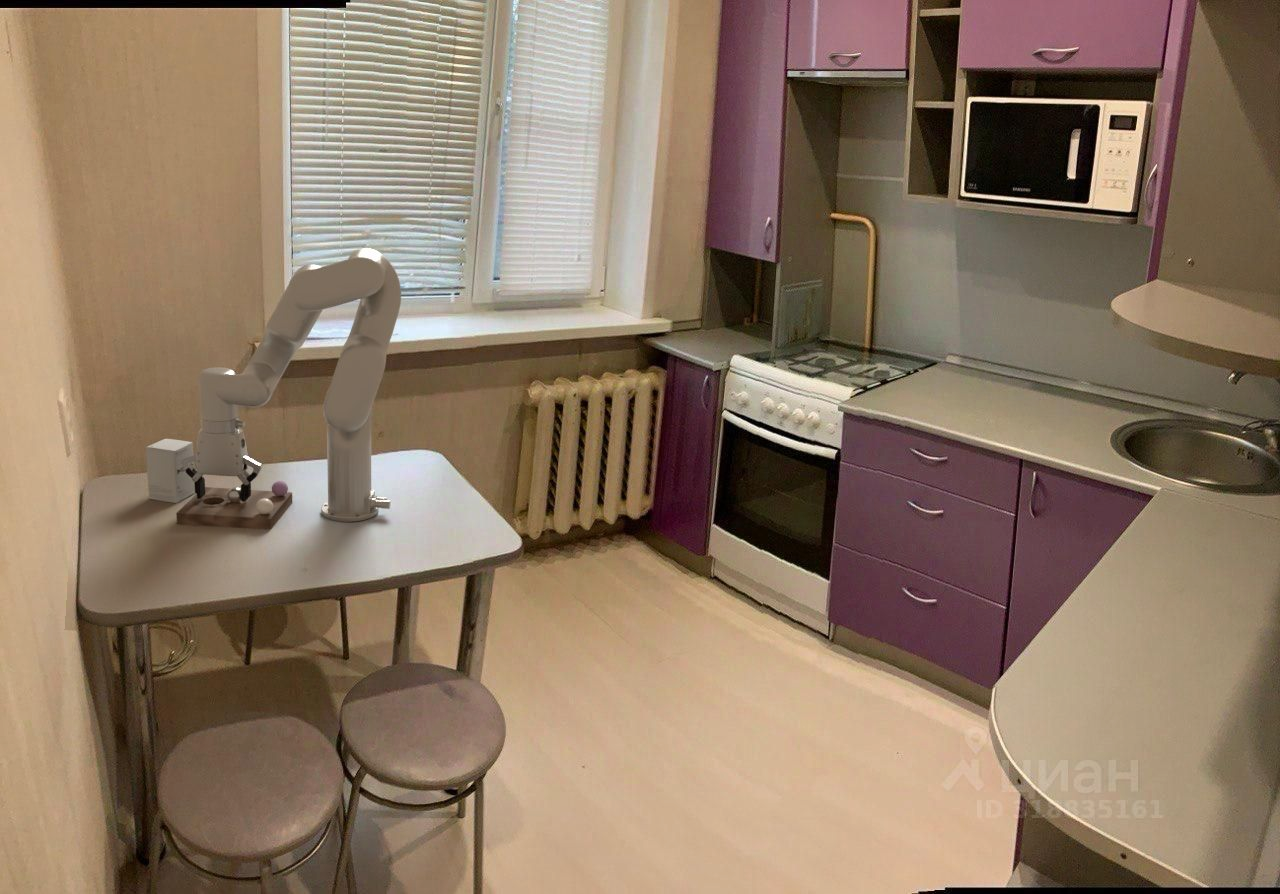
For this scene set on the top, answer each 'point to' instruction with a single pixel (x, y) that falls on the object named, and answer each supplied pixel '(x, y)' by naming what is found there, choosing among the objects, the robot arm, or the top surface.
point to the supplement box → (169, 470)
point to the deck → (232, 510)
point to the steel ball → (234, 495)
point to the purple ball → (279, 488)
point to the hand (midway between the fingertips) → (223, 498)
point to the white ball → (264, 506)
